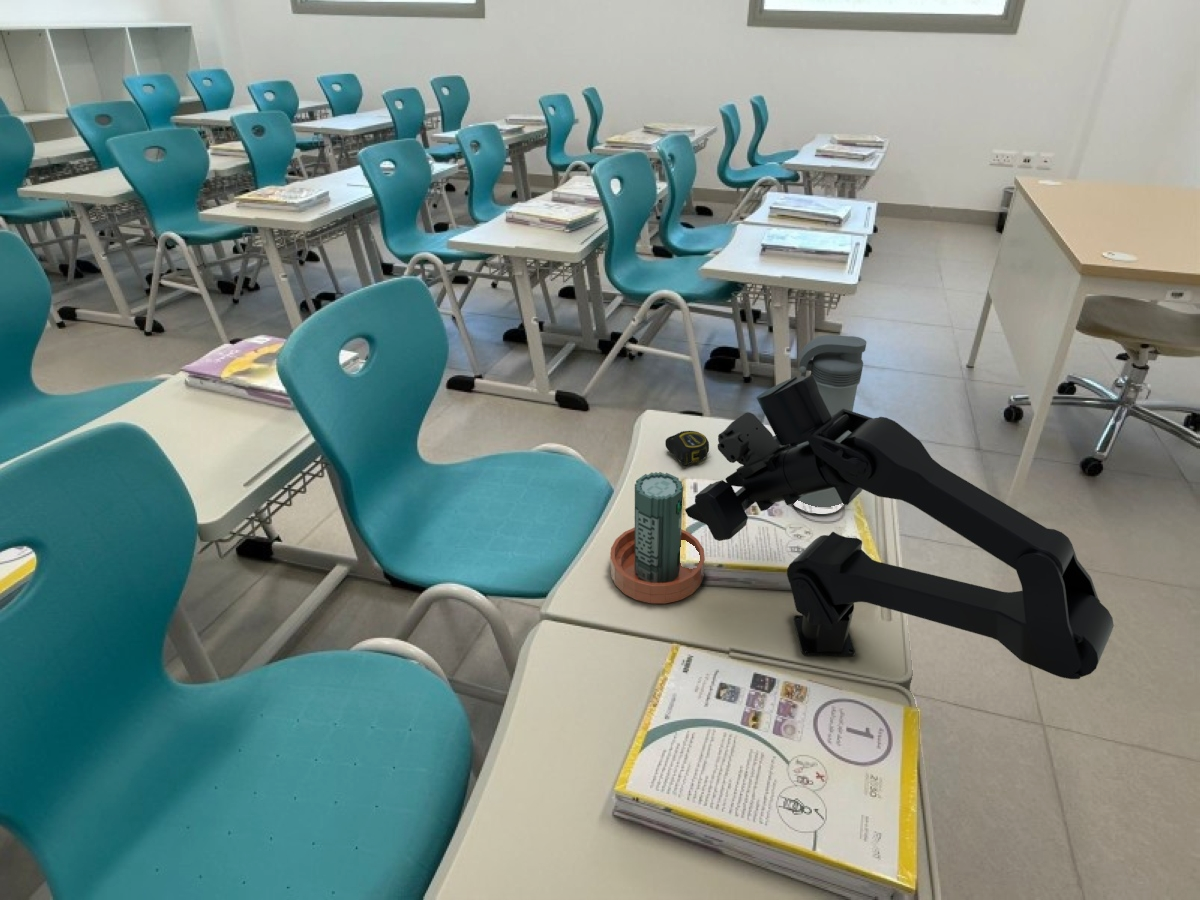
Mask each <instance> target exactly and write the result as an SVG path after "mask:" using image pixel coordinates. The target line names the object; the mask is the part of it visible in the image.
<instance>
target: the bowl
mask: <svg viewBox="0 0 1200 900" xmlns="http://www.w3.org/2000/svg"><path fill="white" fill-rule="evenodd" d="M681 540H686V541H687V542H689V543H690V544H692V545H693V546H695V548H696V550H697V551H698V552H699V555H700V561H699V563H698V566H697V568H693V569H689V568H685V567H682V566H681V563H680V568H679V573H678V577H677V578H676V579H675V580H673V581H672V582H667V583H651V582H646V581H642V580H640V579H638V576H637V575H636V572H635V526H634V527H632V528H630V529H628V530H626V531H624V532H623V533H621V534H620V535H619V536H618V537H617V538H616V539H615V540H614V542H613V544H612V546H611V547H610V576H611V579H612V582H613V584H614V585H615V587H617V588H618V589H619V591H621V592H622V593H623V594H624V595H626V596H628V597H630V598H632V599H634V600H636V601H639V602H644V603H648V604H670V603H673V602H678V601H682V600H683V599H686V598H688V597H689V596H691V595H693V594H694V592H695V591H697V590H698V589H699V588H700V587H701V584H702V582H703V579H704V576H705V563H704V561H705V560H706V557H705V549H704V547H703V545H702V544H701V542H700V541H699V539H698V538H697V537H696V536H694V535H693V534H692V533H691V532H689V531H686V530H684V529H682V528H681ZM680 547H681V546H680ZM703 572H704V574H703Z"/></svg>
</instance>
